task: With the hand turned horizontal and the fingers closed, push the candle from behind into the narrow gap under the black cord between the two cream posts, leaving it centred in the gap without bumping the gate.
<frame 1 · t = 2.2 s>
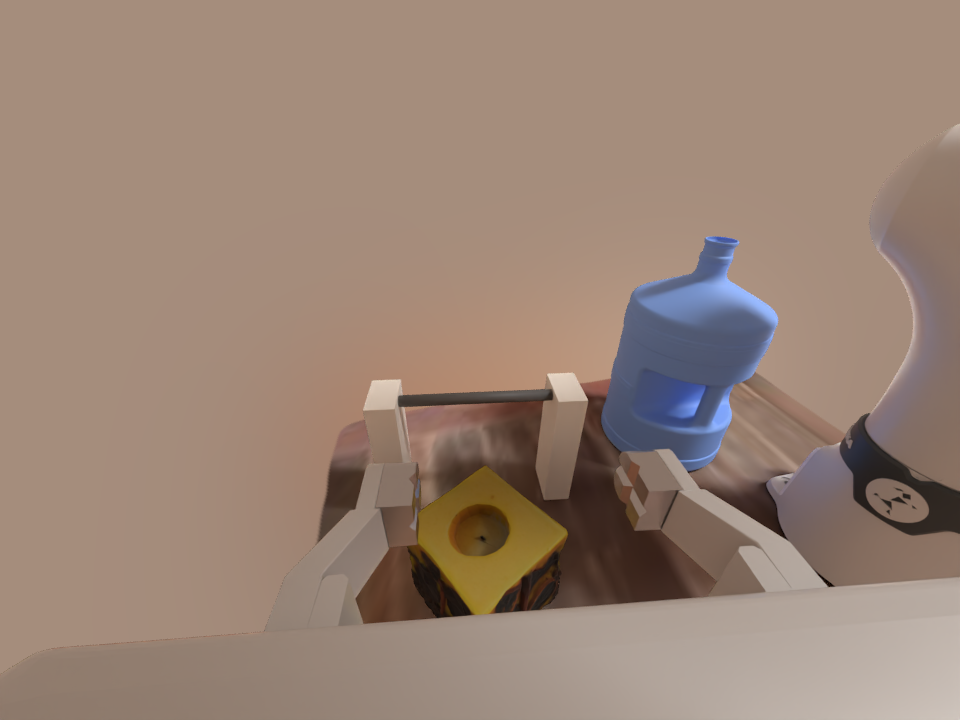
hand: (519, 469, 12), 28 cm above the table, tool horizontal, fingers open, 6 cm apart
water jug: (654, 434, 53), on the table
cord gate: (476, 487, 45), on the table
candle: (484, 591, 35), on the table
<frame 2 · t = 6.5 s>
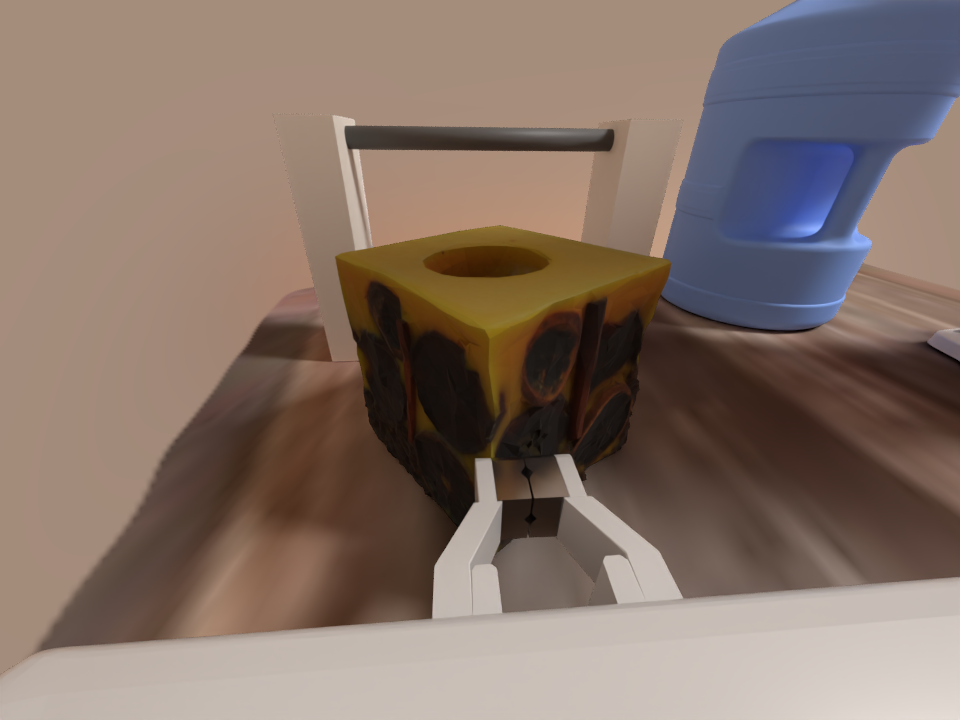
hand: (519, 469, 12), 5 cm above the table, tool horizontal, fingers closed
water jug: (732, 302, 38), on the table
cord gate: (479, 341, 29), on the table
candle: (494, 440, 20), on the table, touching gripper
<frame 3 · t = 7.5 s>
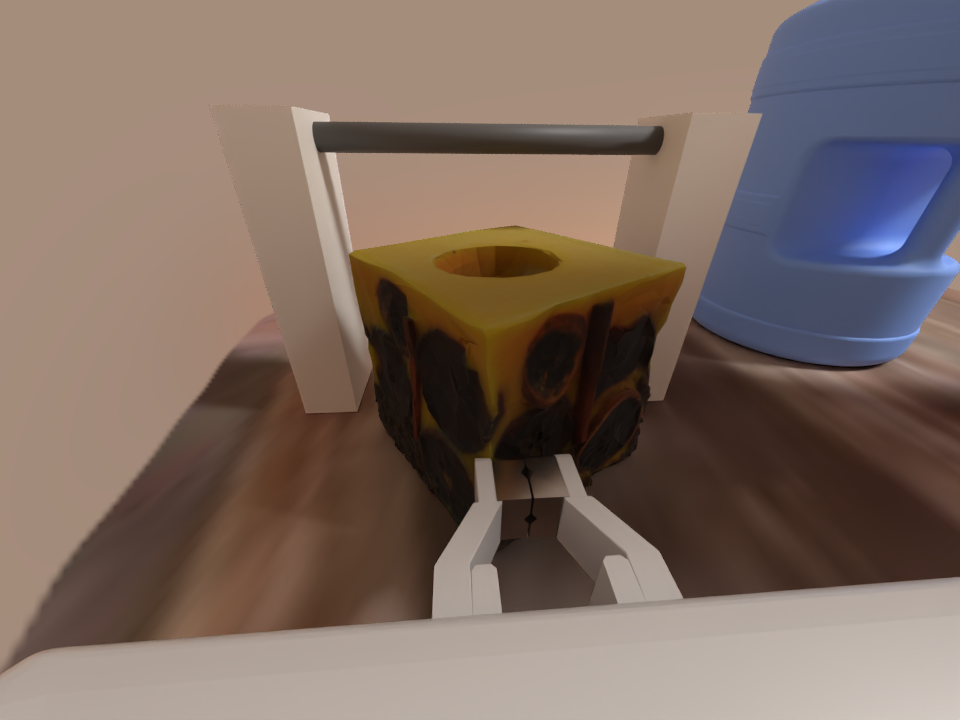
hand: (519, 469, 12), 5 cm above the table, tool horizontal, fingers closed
water jug: (776, 326, 33), on the table
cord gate: (486, 383, 24), on the table
candle: (501, 441, 20), on the table, touching gripper
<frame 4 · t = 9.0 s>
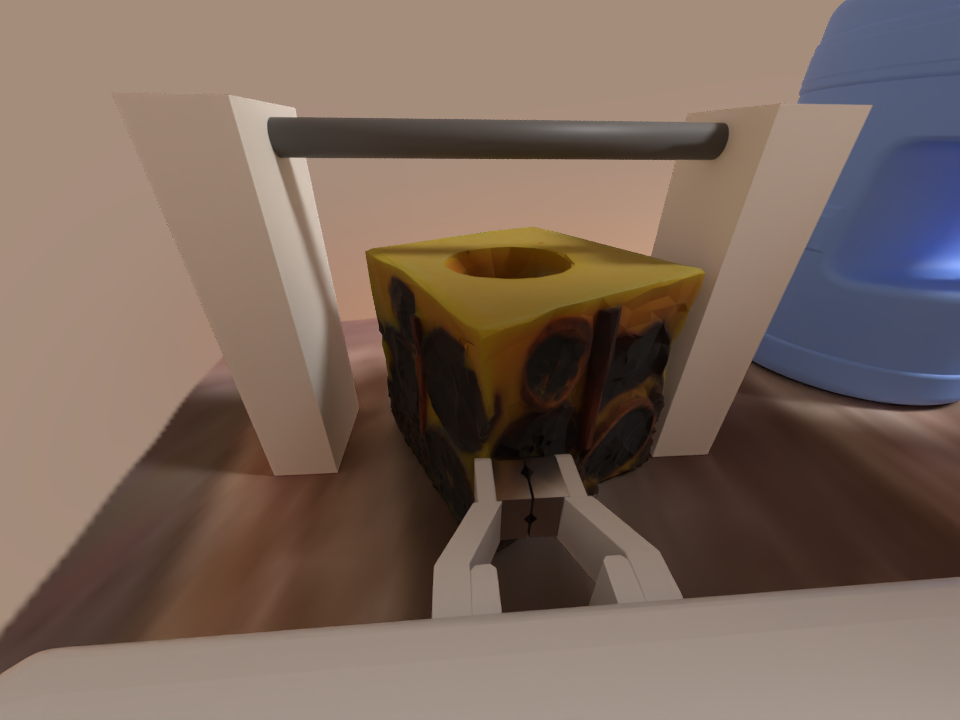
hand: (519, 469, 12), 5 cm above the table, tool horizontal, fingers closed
water jug: (820, 351, 29), on the table
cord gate: (494, 430, 20), on the table
candle: (510, 443, 20), on the table, touching gripper
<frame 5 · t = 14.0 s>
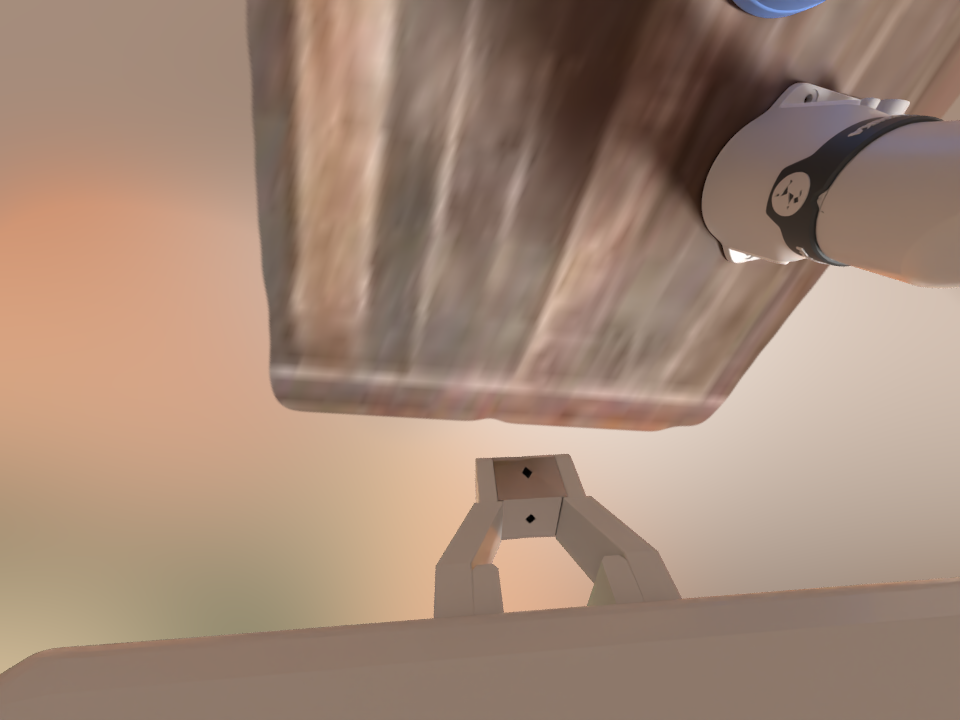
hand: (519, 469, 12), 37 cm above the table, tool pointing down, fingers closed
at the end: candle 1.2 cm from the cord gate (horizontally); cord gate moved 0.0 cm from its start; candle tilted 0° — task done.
